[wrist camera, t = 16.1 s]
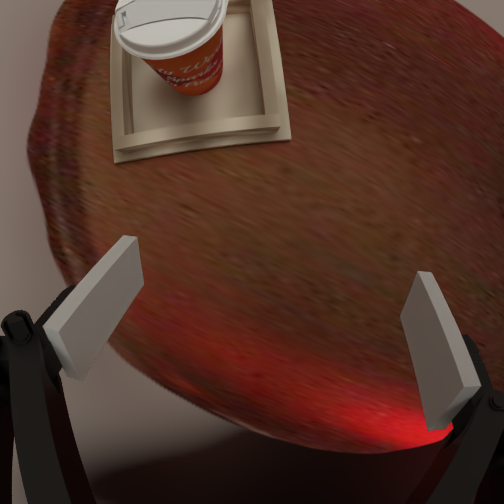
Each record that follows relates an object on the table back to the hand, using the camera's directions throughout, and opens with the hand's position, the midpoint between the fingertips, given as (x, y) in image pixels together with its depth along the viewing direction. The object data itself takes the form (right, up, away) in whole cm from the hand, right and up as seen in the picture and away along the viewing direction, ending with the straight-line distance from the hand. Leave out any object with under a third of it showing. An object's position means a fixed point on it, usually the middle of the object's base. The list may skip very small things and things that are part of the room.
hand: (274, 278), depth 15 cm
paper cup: (-7, +19, +14) cm, 25 cm away
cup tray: (-7, +20, +15) cm, 26 cm away
